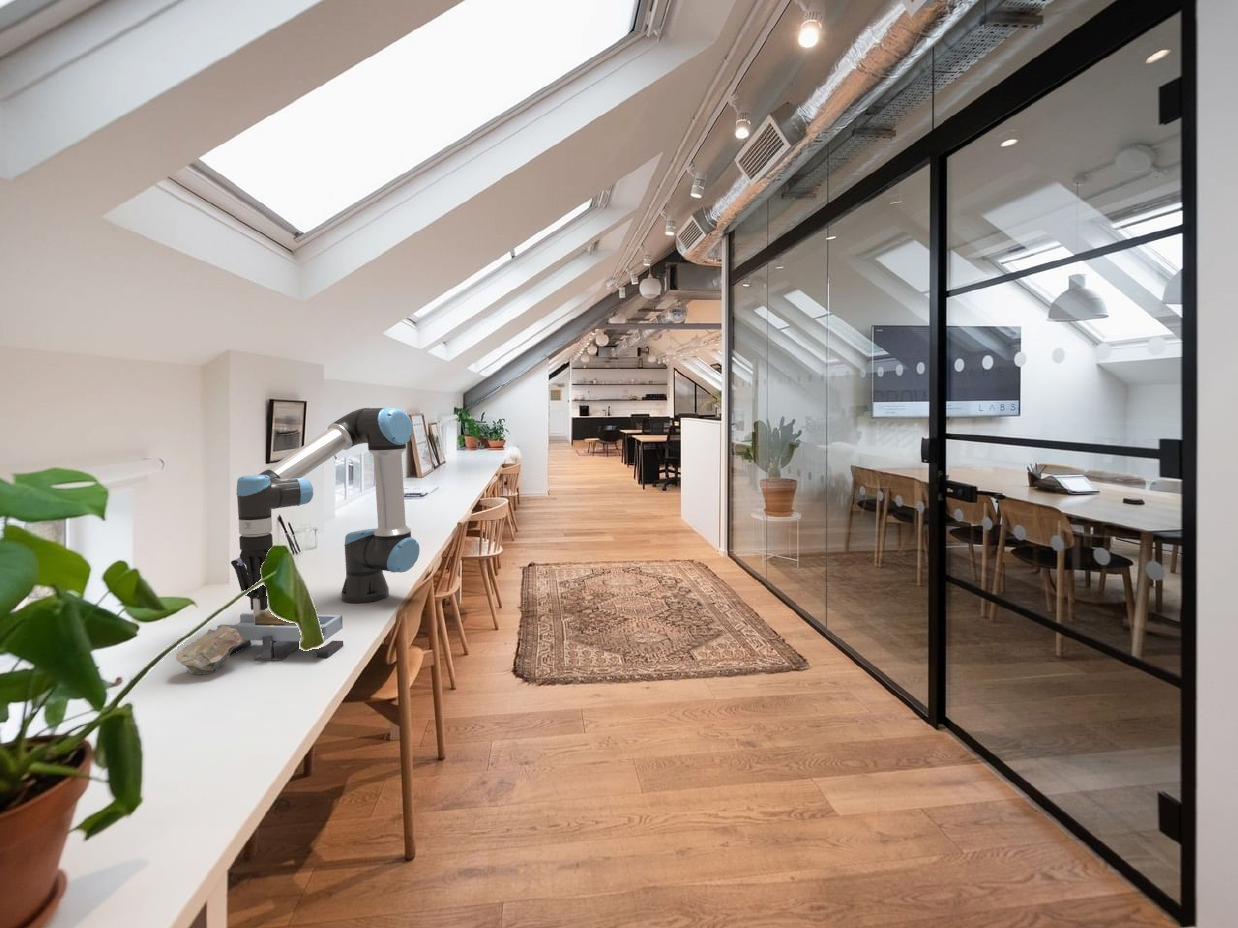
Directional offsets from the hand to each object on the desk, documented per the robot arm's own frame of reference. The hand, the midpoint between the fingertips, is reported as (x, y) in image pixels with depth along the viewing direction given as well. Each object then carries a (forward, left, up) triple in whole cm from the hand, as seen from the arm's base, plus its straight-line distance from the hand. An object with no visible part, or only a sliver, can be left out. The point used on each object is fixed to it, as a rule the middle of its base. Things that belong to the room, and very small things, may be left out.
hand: (259, 621), depth 164 cm
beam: (0, +6, -3) cm, 6 cm away
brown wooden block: (0, +5, -2) cm, 5 cm away
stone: (+14, -4, -8) cm, 17 cm away
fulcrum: (0, +6, -8) cm, 10 cm away
